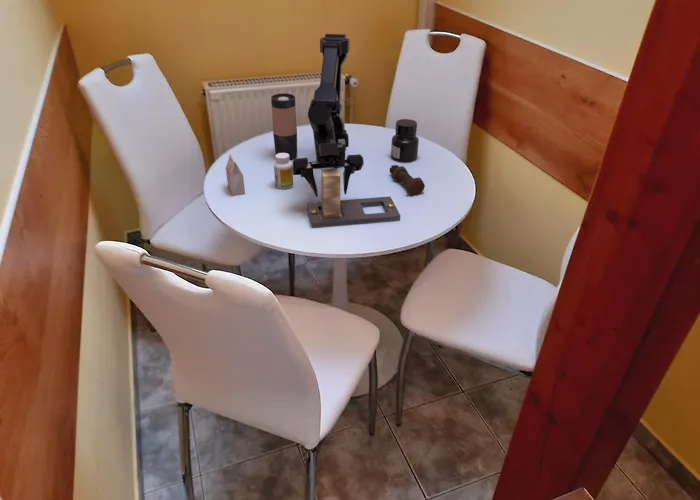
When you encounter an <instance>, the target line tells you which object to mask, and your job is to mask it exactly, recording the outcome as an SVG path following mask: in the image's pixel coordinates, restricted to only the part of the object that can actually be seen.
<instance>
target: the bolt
mask: <svg viewBox="0 0 700 500" xmlns="http://www.w3.org/2000/svg"><path fill="white" fill-rule="evenodd" d="M389 173H390V174H391V175H392V178H393V179H394V181H395V182H397V183H401V184H403V185H404V186H405V189H406V191H407V193H408V194H409V196H411V197H414V196H415V195H416V196H419V195H421V194H422V193H423V191H424V190H425V187H426V185H425V183H424V181H423V179H422V177H419V176H418V177H413V176H411V174H409V172H408V170H407V168H406V167H405V166H399V165H397V164H393V165H390V167H389Z"/></svg>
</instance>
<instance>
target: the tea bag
mask: <svg viewBox="0 0 700 500" xmlns="http://www.w3.org/2000/svg"><path fill="white" fill-rule="evenodd" d="M225 173H226V174H225V175H226V181H227V187H228V189H229V191H230V194H231V196H232V197H237V196H241V195H246V191H245V189H246V188H245V181H244V175H243V172H242V170H241V169H240V167H239V165H238V163H237V162H236V161H235V160H234V158H233V156H232V154H229V157H228V161H227V162H226V166H225Z"/></svg>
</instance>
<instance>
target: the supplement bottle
mask: <svg viewBox="0 0 700 500" xmlns="http://www.w3.org/2000/svg"><path fill="white" fill-rule="evenodd" d="M289 159H290V158H289V154H287V153H278V154H275V161H274V163H273V173H274V184H275V187H276V188H277V189H280V190H281V189H282V190H287V189H290V188H292V187H293V186H294V175H293V170H292V163H293V162H292V160H291V161H289Z"/></svg>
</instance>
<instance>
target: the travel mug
mask: <svg viewBox="0 0 700 500" xmlns="http://www.w3.org/2000/svg"><path fill="white" fill-rule="evenodd" d="M270 99H271V117H272V119H271V120H272V133H273V143H274V152H275V154H274V155H276V154H278V153H287V154H289V158H290V159H289V161H291V162H292V161H293V160H294V159H296V158H298V125H297V111H296V110H297V109H296V105H297V104H296V96H295V95H294V94H291V93H282V92H281V93H277V94H273V95H271V98H270Z"/></svg>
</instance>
